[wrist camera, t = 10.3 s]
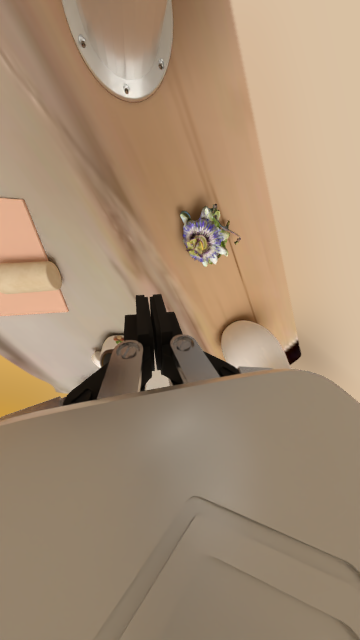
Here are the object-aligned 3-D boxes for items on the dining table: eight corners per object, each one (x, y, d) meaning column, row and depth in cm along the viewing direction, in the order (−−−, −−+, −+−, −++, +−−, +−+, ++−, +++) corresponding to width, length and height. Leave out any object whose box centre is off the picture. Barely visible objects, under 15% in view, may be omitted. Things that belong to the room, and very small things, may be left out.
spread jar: (140, 336, 50) (142, 366, 41) (130, 360, 55) (130, 391, 46) (99, 328, 45) (90, 361, 36) (91, 355, 50) (83, 390, 41)
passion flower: (181, 235, 41) (165, 217, 29) (220, 207, 37) (220, 174, 26) (201, 275, 41) (194, 272, 30) (242, 251, 38) (251, 238, 27)
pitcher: (212, 323, 54) (265, 406, 32) (258, 306, 54) (341, 377, 33) (218, 363, 69) (257, 438, 47) (254, 350, 69) (309, 418, 48)
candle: (46, 254, 30) (-19, 257, 28) (44, 279, 28) (-26, 284, 26) (62, 272, 35) (8, 276, 33) (61, 295, 33) (4, 300, 31)
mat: (-100, 190, 23) (-104, 190, 23) (23, 199, 27) (22, 199, 26) (-7, 315, 36) (-8, 316, 36) (68, 310, 40) (67, 311, 39)
